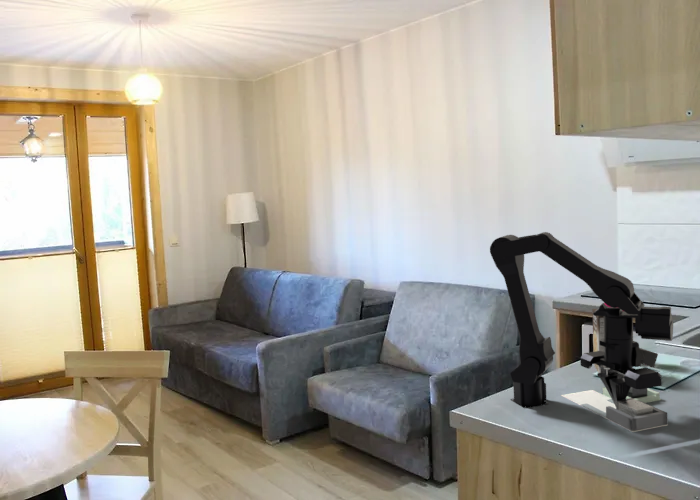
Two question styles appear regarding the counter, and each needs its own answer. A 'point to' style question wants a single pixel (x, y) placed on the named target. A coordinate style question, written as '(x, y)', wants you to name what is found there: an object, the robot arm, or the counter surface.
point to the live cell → (637, 393)
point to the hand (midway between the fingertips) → (619, 407)
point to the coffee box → (598, 335)
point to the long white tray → (617, 411)
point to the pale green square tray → (650, 397)
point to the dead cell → (633, 407)
